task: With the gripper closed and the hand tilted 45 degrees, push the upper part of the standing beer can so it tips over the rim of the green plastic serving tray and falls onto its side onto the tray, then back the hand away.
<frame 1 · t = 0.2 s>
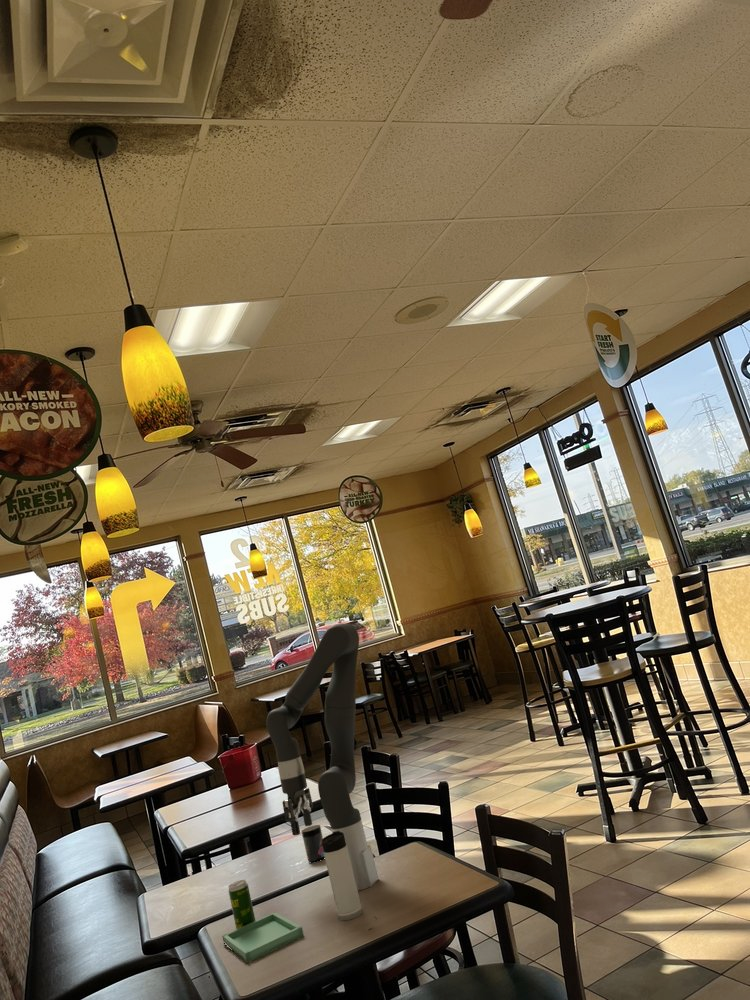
hand: (302, 830, 217), 18 cm above the table, tool pointing down, fingers open, 8 cm apart
supplement container: (318, 860, 248), on the table
beer can: (247, 930, 198), on the table
travel mug: (351, 915, 188), on the table
tray: (263, 940, 187), on the table
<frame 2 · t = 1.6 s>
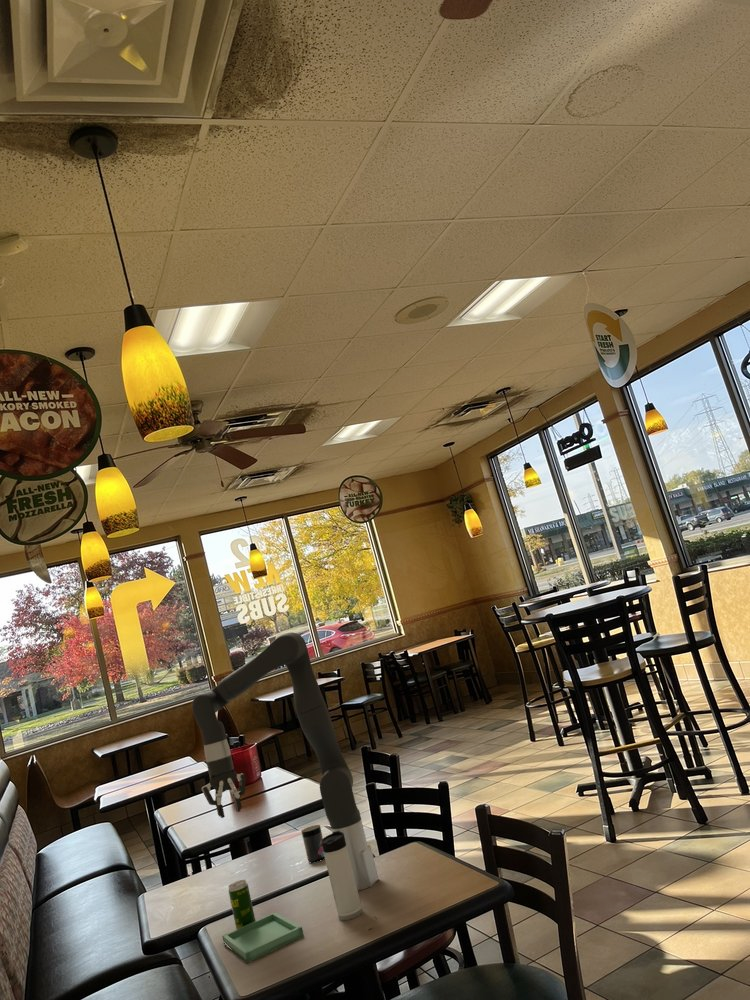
hand: (230, 814, 220), 27 cm above the table, tool pointing down, fingers open, 4 cm apart
nothing on the table moved.
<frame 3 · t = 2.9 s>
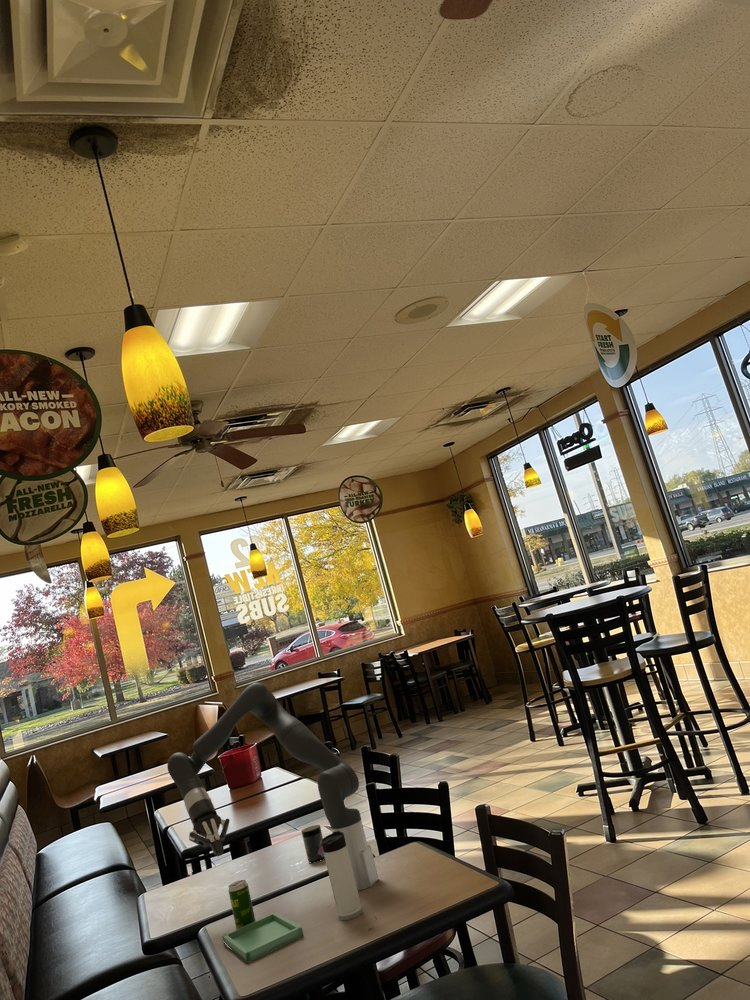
hand: (220, 853, 210), 19 cm above the table, tool tilted 45°, fingers closed
nothing on the table moved.
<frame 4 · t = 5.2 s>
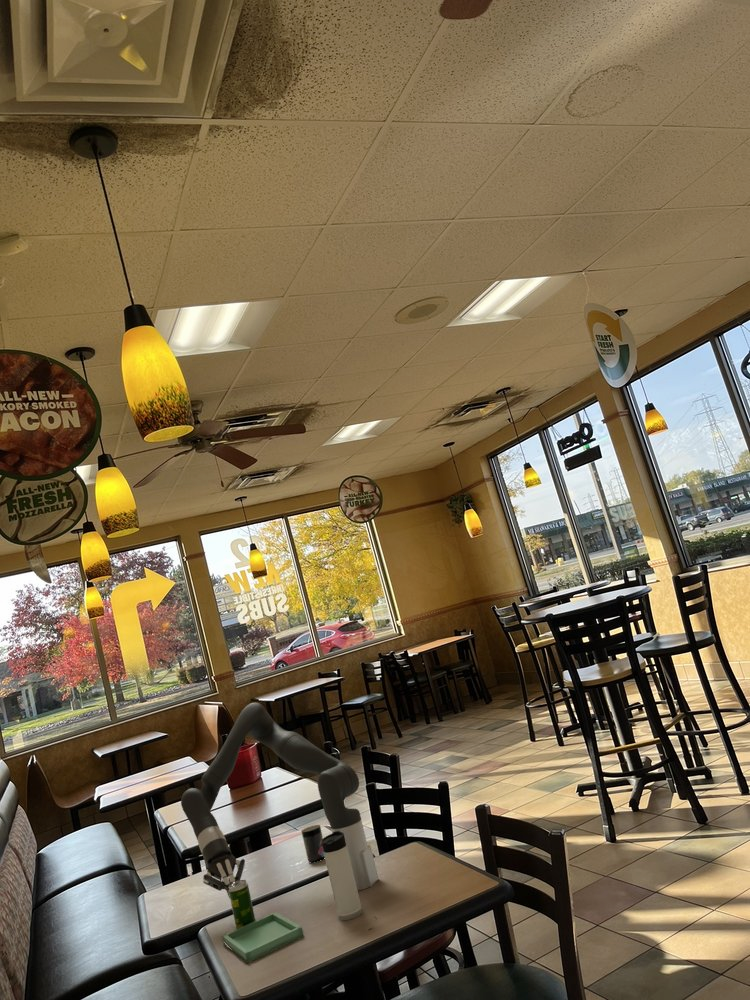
hand: (235, 897, 202), 8 cm above the table, tool tilted 45°, fingers closed
beer can: (247, 930, 198), on the table, touching gripper
everything else where it was.
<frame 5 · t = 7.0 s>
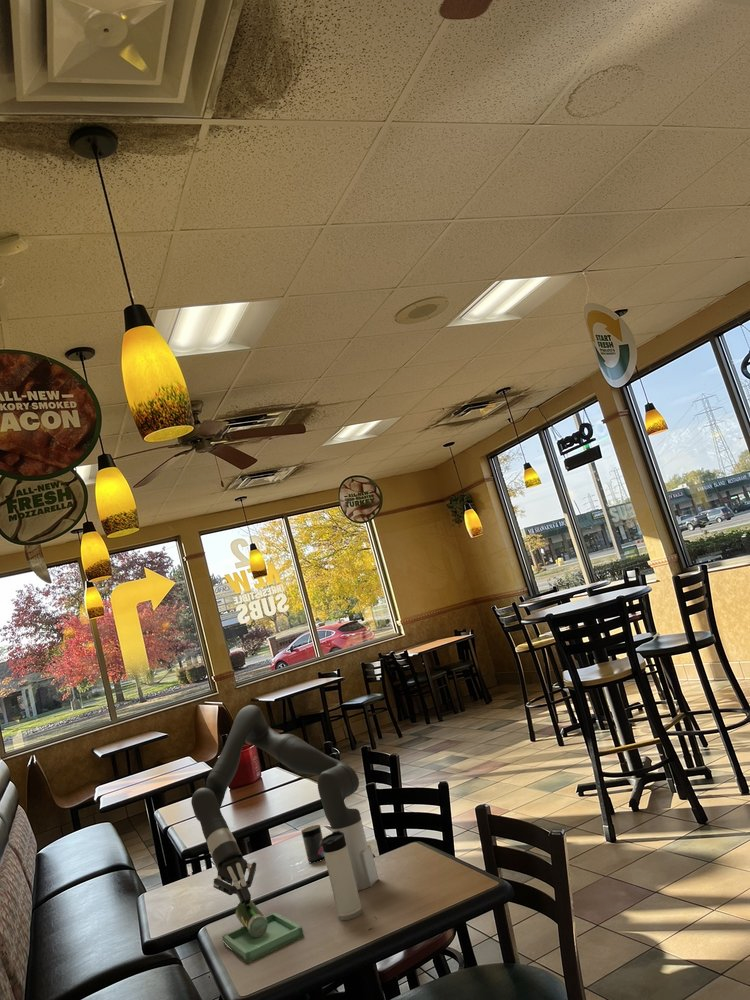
hand: (247, 902, 194), 8 cm above the table, tool tilted 45°, fingers closed
beer can: (244, 908, 198), point 6 cm above the table, touching tray
everything else where it was.
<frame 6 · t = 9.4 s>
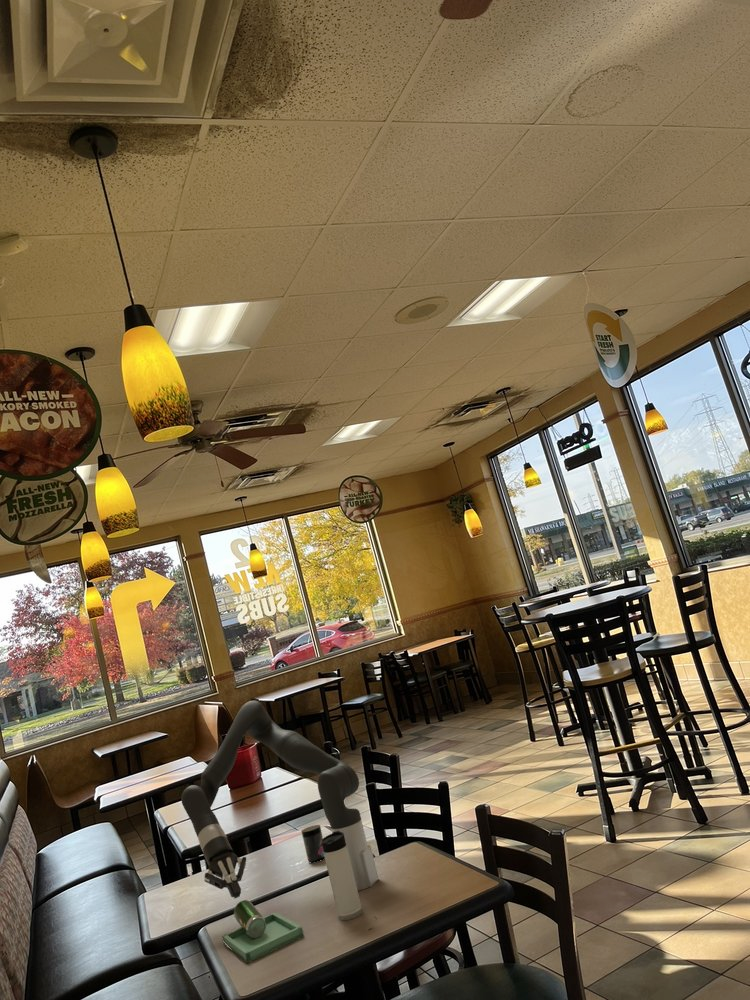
hand: (237, 895, 199), 9 cm above the table, tool tilted 45°, fingers closed
nothing on the table moved.
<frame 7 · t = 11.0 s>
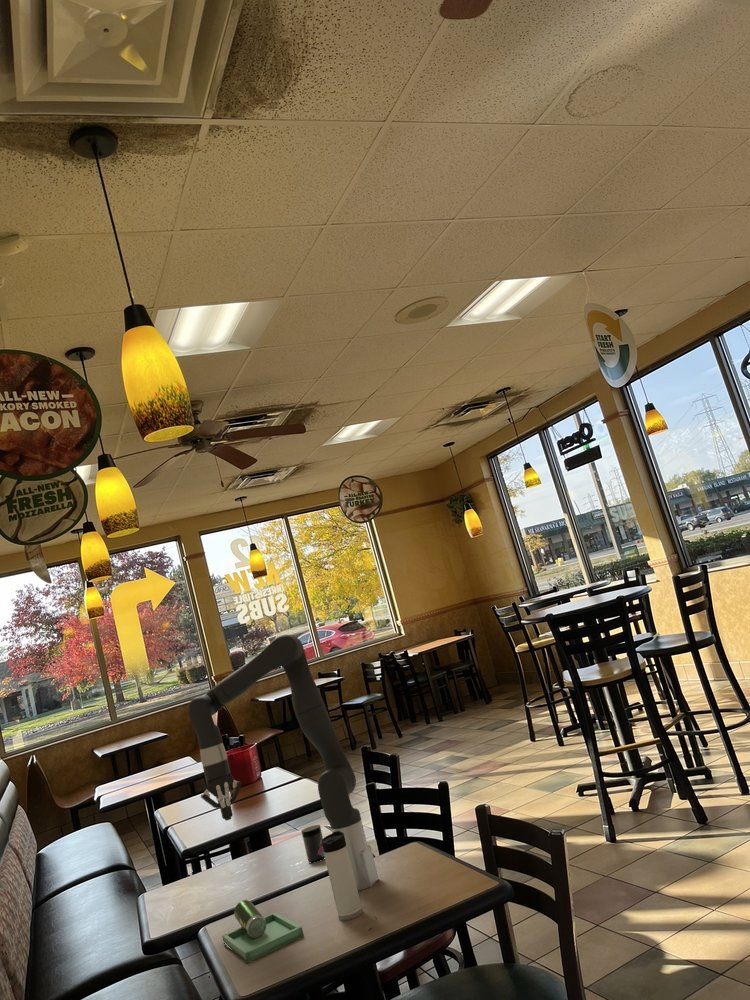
hand: (228, 819, 218), 26 cm above the table, tool pointing down, fingers closed
nothing on the table moved.
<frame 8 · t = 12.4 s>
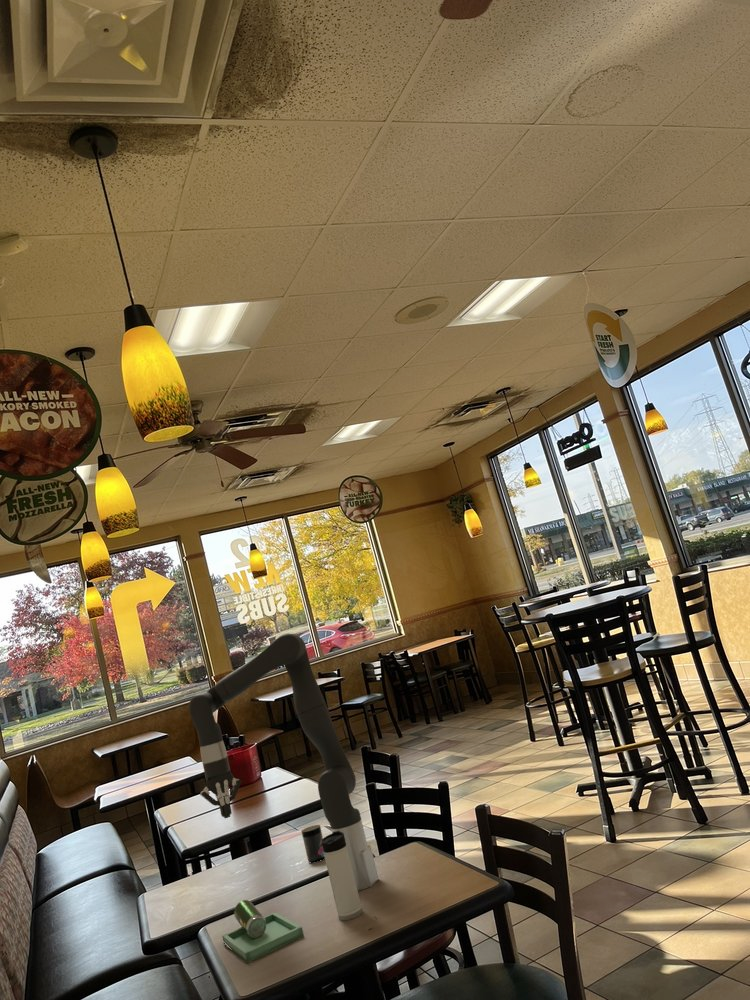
hand: (227, 817, 218), 27 cm above the table, tool pointing down, fingers closed
nothing on the table moved.
at the end: beer can tilted 100°; beer can touching tray; beer can 12.4 cm from the tray (horizontally) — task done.
